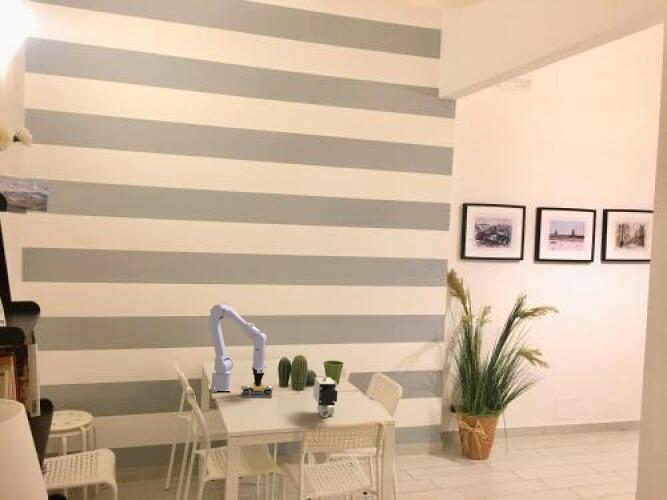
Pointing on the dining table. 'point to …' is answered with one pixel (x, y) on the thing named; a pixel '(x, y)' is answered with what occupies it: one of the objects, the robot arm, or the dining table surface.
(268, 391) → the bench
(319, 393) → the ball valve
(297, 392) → the dining table surface
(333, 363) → the plant pot
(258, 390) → the coupler
